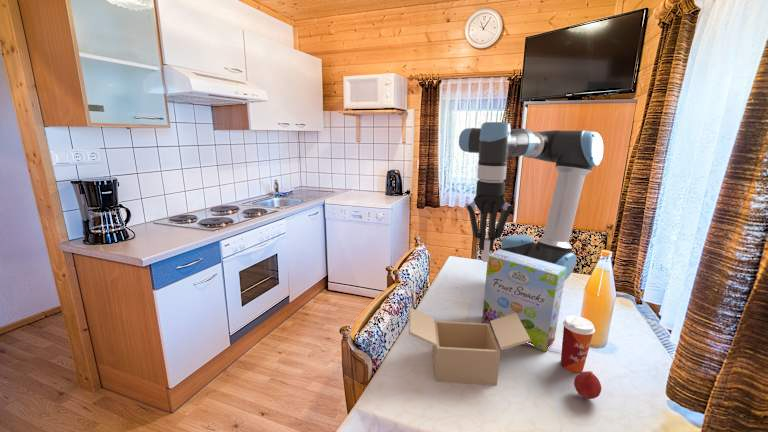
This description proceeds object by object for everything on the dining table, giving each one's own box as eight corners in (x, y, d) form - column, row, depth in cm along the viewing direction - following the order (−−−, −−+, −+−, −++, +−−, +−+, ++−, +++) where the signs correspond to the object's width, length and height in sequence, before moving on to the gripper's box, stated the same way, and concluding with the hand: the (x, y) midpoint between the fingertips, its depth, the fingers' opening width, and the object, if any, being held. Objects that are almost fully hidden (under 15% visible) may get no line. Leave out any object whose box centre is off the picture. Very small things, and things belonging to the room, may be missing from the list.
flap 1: (410, 307, 101) (409, 309, 101) (410, 331, 89) (408, 334, 89) (433, 318, 101) (432, 320, 101) (436, 344, 89) (435, 346, 89)
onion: (567, 390, 89) (571, 363, 87) (588, 388, 90) (593, 362, 88) (581, 407, 84) (586, 379, 82) (603, 406, 84) (609, 378, 82)
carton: (486, 353, 103) (489, 323, 101) (496, 385, 91) (500, 352, 88) (432, 350, 104) (433, 320, 102) (434, 381, 92) (436, 348, 89)
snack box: (479, 325, 117) (486, 254, 111) (491, 315, 124) (498, 247, 117) (546, 354, 103) (558, 274, 97) (556, 341, 109) (568, 265, 103)
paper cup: (575, 379, 93) (583, 333, 89) (550, 362, 100) (557, 318, 96) (593, 370, 97) (602, 325, 93) (568, 354, 103) (575, 312, 100)
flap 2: (489, 320, 100) (490, 323, 100) (500, 347, 88) (501, 350, 88) (515, 312, 99) (516, 315, 99) (530, 338, 87) (531, 341, 87)
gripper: (510, 178, 99) (503, 255, 105) (464, 177, 99) (460, 255, 106) (519, 182, 92) (511, 265, 98) (470, 182, 92) (464, 265, 98)
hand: (484, 260), depth 102 cm, fingers closed
